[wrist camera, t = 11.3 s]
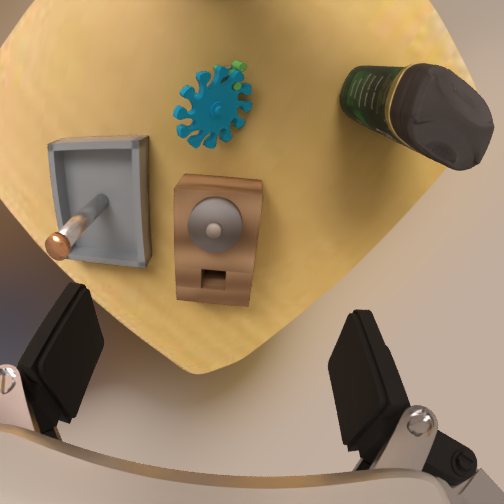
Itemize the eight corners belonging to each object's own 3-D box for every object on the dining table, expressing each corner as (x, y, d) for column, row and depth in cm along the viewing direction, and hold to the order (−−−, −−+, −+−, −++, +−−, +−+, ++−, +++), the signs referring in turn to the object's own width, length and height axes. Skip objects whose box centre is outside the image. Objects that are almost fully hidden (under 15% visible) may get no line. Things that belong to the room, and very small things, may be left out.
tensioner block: (184, 173, 38) (167, 198, 30) (261, 180, 38) (264, 206, 31) (184, 274, 46) (172, 313, 39) (248, 280, 47) (248, 320, 39)
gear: (224, 161, 36) (162, 135, 27) (197, 142, 38) (139, 117, 30) (274, 87, 32) (223, 43, 24) (243, 74, 35) (192, 36, 26)
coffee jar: (330, 112, 34) (395, 139, 18) (351, 58, 30) (431, 44, 14) (393, 142, 35) (479, 191, 19) (413, 92, 31) (510, 112, 15)
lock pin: (91, 191, 38) (42, 235, 27) (109, 191, 38) (63, 237, 27) (93, 210, 39) (48, 259, 28) (111, 211, 39) (69, 261, 28)
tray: (60, 138, 34) (47, 144, 31) (148, 135, 35) (139, 140, 32) (74, 247, 44) (65, 258, 40) (152, 255, 44) (145, 268, 41)
